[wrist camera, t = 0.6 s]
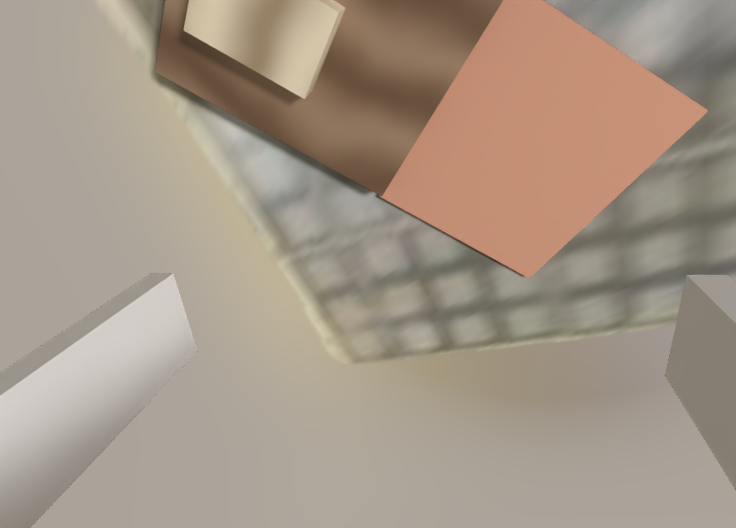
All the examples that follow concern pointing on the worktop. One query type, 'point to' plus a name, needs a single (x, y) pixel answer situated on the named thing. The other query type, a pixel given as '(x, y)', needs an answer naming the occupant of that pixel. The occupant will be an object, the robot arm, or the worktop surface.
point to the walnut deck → (343, 81)
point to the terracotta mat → (536, 137)
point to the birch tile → (270, 35)
